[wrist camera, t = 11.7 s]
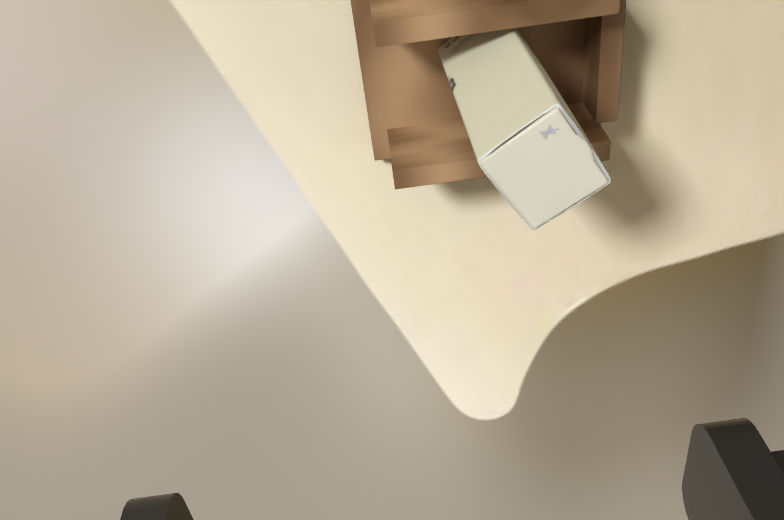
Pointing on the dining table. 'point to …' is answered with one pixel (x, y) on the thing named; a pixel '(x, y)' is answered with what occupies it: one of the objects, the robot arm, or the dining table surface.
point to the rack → (432, 88)
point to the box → (521, 125)
